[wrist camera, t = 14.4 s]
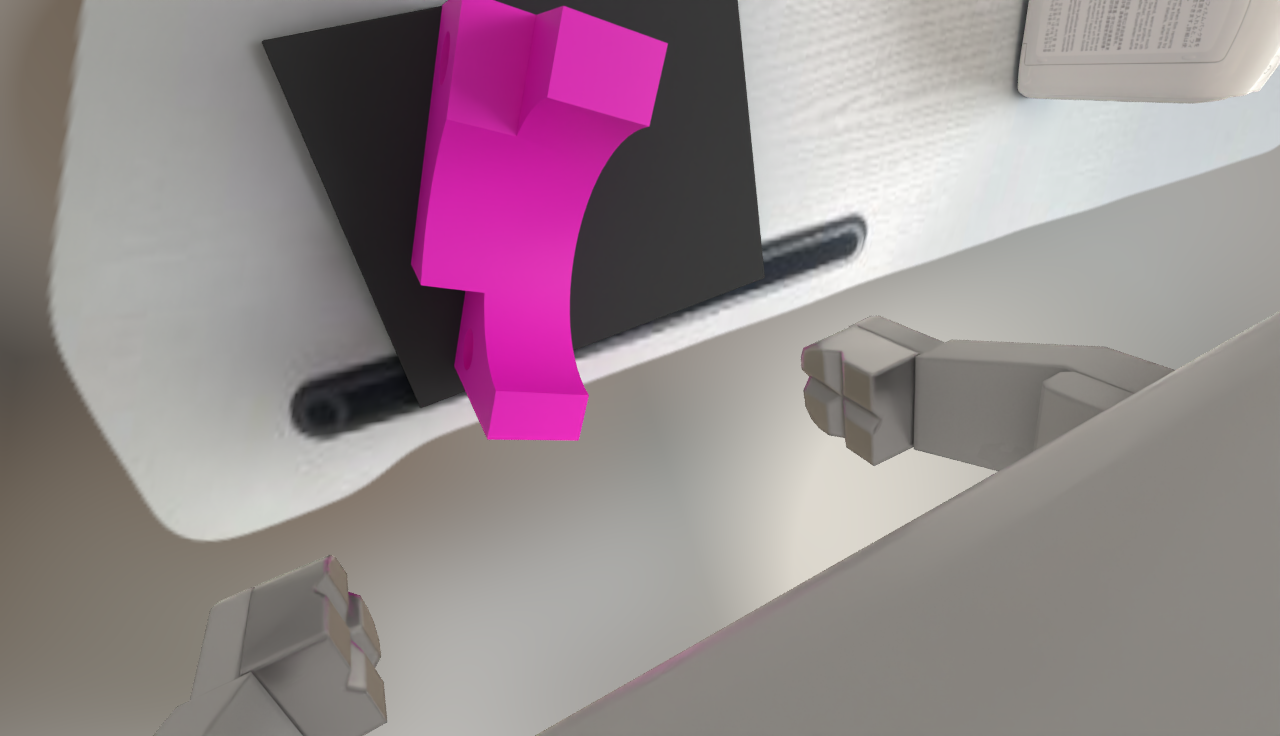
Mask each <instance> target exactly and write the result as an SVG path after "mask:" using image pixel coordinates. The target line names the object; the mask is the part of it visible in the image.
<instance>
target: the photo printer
mask: <svg viewBox="0 0 1280 736" xmlns="http://www.w3.org/2000/svg"><path fill="white" fill-rule="evenodd" d="M1279 64H1280V0H1029V5H1028V11H1027V18H1026V24H1025V31H1024V38H1023V44H1022V49H1021V57H1020V65H1019V74H1018V91H1019V92H1020V93H1021V94H1022V95H1024V96H1025V97H1027V98H1035V99H1063V100H1095V101H1122V102H1156V103H1203V102H1211V101H1219V100H1224V99H1226V98H1229V97H1236V96H1244V95H1247V94H1248V93H1250V92H1258V91H1259V90H1260V89H1261V88H1262V87H1263V85H1264V84H1265V83H1266V81H1267V80H1268V79H1269V78H1270V76H1271V75H1272V74H1273V72H1274V71H1275V70H1276V68H1277V67H1278V65H1279Z"/></svg>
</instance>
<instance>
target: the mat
mask: <svg viewBox="0 0 1280 736" xmlns="http://www.w3.org/2000/svg"><path fill="white" fill-rule="evenodd" d="M494 1H497V2H500V3H503V4H506V5H509V6H512V7H515V8H518V9H520V10H523V11H526V12H529V13H532V14H535V15H538V14H541V13H544V12H546V11H549V10H552V9H555V8H558V7H561V6H566V7H568V8H571V9H574V10H577V11H579V12H582V13H585V14H588V15H590V16H593V17H596V18H599V19H602V20H604V21H607V22H610V23H613V24H615V25H618V26H621V27H624V28H626V29H629V30H632V31H635V32H638V33H640V34H643V35H646V36H649V37H651V38H654V39H657V40H660V41H662V42H665V43H668V46H667V50H666V54H665V59H664V63H663V68H662V72H661V77H660V81H659V86H658V90H657V94H656V99H655V103H654V108H653V112H652V117H651V121H650V126H649V127H645V128H642V129H640V130H638V131H636V132H634V133H633V134H631V135H630V136H628V137H627V138H626V139H625V140H624V141H623V142H622V143H621V144H620V145H619V146H618V147H617V149H616V150H615V151H614V152H613V154H612V155H611V156H610V158H609V159H608V161H607V163H606V164H605V166H604V168H603V169H602V171H601V173H600V175H599V177H598V179H597V181H596V183H595V185H594V188H593V190H592V192H591V195H590V198H589V200H588V203H587V206H586V209H585V212H584V215H583V219H582V222H581V226H580V230H579V234H578V238H577V243H576V248H575V253H574V260H573V267H572V275H571V286H570V329H571V339H572V346H573V350H575V349H578V348H581V347H583V346H586V345H589V344H591V343H594V342H597V341H599V340H602V339H605V338H607V337H610V336H612V335H615V334H618V333H620V332H623V331H626V330H628V329H631V328H634V327H636V326H639V325H642V324H644V323H647V322H649V321H652V320H655V319H657V318H660V317H663V316H665V315H668V314H671V313H673V312H676V311H679V310H681V309H684V308H686V307H689V306H692V305H694V304H697V303H700V302H702V301H705V300H708V299H710V298H713V297H716V296H718V295H721V294H723V293H726V292H729V291H731V290H734V289H737V288H739V287H742V286H745V285H747V284H750V283H753V282H755V281H758V280H760V279H763V278H765V276H764V266H763V256H762V245H761V235H760V225H759V215H758V205H757V194H756V184H755V174H754V164H753V153H752V143H751V133H750V123H749V113H748V102H747V92H746V82H745V72H744V61H743V51H742V41H741V31H740V21H739V10H738V0H494ZM441 13H442V6H439V7H434V8H429V9H424V10H419V11H414V12H408V13H403V14H398V15H393V16H388V17H382V18H377V19H372V20H367V21H362V22H357V23H351V24H346V25H341V26H336V27H331V28H325V29H320V30H315V31H310V32H305V33H300V34H294V35H289V36H284V37H279V38H274V39H268V40H263V41H262V44H263V46H264V49H265V51H266V53H267V55H268V58H269V60H270V62H271V65H272V67H273V69H274V72H275V74H276V76H277V79H278V81H279V83H280V85H281V88H282V90H283V92H284V95H285V97H286V99H287V102H288V104H289V106H290V109H291V111H292V113H293V115H294V118H295V120H296V122H297V125H298V127H299V129H300V132H301V134H302V136H303V139H304V141H305V143H306V145H307V148H308V150H309V152H310V155H311V157H312V159H313V162H314V164H315V166H316V169H317V171H318V173H319V175H320V178H321V180H322V182H323V185H324V187H325V189H326V192H327V194H328V196H329V199H330V201H331V203H332V205H333V208H334V210H335V212H336V215H337V217H338V219H339V222H340V224H341V226H342V228H343V231H344V233H345V235H346V238H347V240H348V242H349V245H350V247H351V249H352V252H353V254H354V256H355V258H356V261H357V263H358V265H359V268H360V270H361V272H362V275H363V277H364V279H365V282H366V284H367V286H368V288H369V291H370V293H371V295H372V298H373V300H374V302H375V305H376V307H377V309H378V312H379V314H380V316H381V318H382V321H383V323H384V325H385V328H386V330H387V332H388V335H389V337H390V339H391V342H392V344H393V346H394V348H395V351H396V353H397V355H398V358H399V360H400V362H401V365H402V367H403V369H404V372H405V374H406V376H407V378H408V381H409V383H410V385H411V388H412V390H413V392H414V395H415V397H416V399H417V402H418V404H419V406H420V408H422V407H425V406H428V405H430V404H433V403H435V402H438V401H441V400H443V399H446V398H449V397H451V396H454V395H457V394H459V393H462V392H465V389H464V387H463V384H462V382H461V380H460V378H459V376H458V373H457V371H456V369H455V367H454V364H455V358H456V351H457V344H458V338H459V331H460V324H461V318H462V311H463V305H464V298H465V291H464V290H456V289H448V288H439V287H431V286H423V285H421V284H420V282H419V280H418V278H417V276H416V274H415V272H414V269H413V267H412V265H411V259H412V251H413V243H414V235H415V227H416V218H417V210H418V202H419V194H420V185H421V177H422V169H423V161H424V152H425V144H426V136H427V128H428V120H429V111H430V103H431V95H432V87H433V78H434V70H435V62H436V54H437V45H438V37H439V29H440V21H441Z"/></svg>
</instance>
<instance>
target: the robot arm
mask: <svg viewBox="0 0 1280 736" xmlns="http://www.w3.org/2000/svg"><path fill="white" fill-rule="evenodd" d="M801 366H802V370H803V371H804V372H805V373H806V374H807V375H808V376H809V379H808V381H807V384H806V386H805V388H804V398H805V406H806V408H807V410H808V412H809V415H810V417H811V419H812V420H813V421H814V423H815V424H816V425H817V426H818V427H819V428H820V429H821V430H823V431H824V432H825V433H827V434H828V435H831V436H837V437H843V438H845V442H846V447H847V448H848V449H850V450H851V451H853V452H854V453H856V454H857V455H859V456H860V457H861V458H863V459H864V460H866V461H867V462H869V463H870V464H872V465H873V466H875V465H877V464H880V463H881V462H884V461H886V460H888V459H890V458H892V457H894V456H896V455H898V454H900V453H902V452H904V451H906V450H908V449H910V448H912V447H914V449H915V450H918V451H923V452H926V453H930V454H934V455H938V456H942V457H946V458H950V459H953V460H957V461H961V462H965V463H969V464H973V465H977V466H980V467H985V468H988V469H992V470H996V471H998V472H997V473H995V474H993V475H991V476H990V477H988V478H986V479H984V480H983V481H981V482H979V483H977V484H976V485H974V486H972V487H971V488H969V489H967V490H965V491H963V492H962V493H960V494H958V495H956V496H955V497H953V498H951V499H949V500H948V501H946V502H944V503H942V504H941V505H939V506H937V507H935V508H934V509H932V510H930V511H928V512H926V513H925V514H923V515H921V516H920V517H918V518H916V519H914V520H912V521H911V522H909V523H907V524H905V525H904V526H902V527H900V528H898V529H897V530H895V531H893V532H891V533H889V534H888V535H886V536H884V537H882V538H881V539H879V540H877V541H875V542H874V543H872V544H870V545H868V546H867V547H865V548H863V549H861V550H859V551H858V552H856V553H854V554H852V555H851V556H849V557H847V558H845V559H844V560H842V561H840V562H838V563H837V564H835V565H833V566H831V567H829V568H828V569H826V570H824V571H822V572H821V573H819V574H817V575H816V576H814V577H812V578H811V579H808V580H807V581H805V582H803V583H802V584H800V585H798V586H796V587H794V588H793V589H791V590H789V591H787V592H786V593H784V594H782V595H780V596H779V597H777V598H775V599H773V600H772V601H770V602H768V603H767V604H765V605H763V606H761V607H760V608H758V609H756V610H754V611H752V612H751V613H749V614H747V615H745V616H744V617H742V618H740V619H738V620H737V621H735V622H733V623H731V624H730V625H728V626H727V627H724V628H723V629H721V630H719V631H717V632H716V633H714V634H713V635H711V636H709V637H707V638H705V639H704V640H702V641H700V642H698V643H697V644H695V645H693V646H692V647H690V648H688V649H686V650H684V651H682V652H681V653H679V654H677V655H676V656H674V657H672V658H670V659H669V660H667V661H665V662H663V663H662V664H660V665H658V666H656V667H655V668H653V669H651V670H649V671H647V672H646V673H644V674H642V675H641V676H639V677H637V678H635V679H633V680H632V681H630V682H628V683H627V684H625V685H623V686H621V687H619V688H618V689H616V690H614V691H612V692H611V693H609V694H607V695H605V696H604V697H602V698H600V699H598V700H597V701H595V702H593V703H591V704H590V705H588V706H586V707H584V708H583V709H581V710H579V711H577V712H576V713H574V714H572V715H570V716H569V717H567V718H565V719H564V720H562V721H560V722H558V723H556V724H555V725H553V726H551V727H549V728H548V729H546V730H544V731H543V732H541V733H539V734H537V735H535V736H1280V311H1278V312H1277V313H1275V314H1273V315H1271V316H1270V317H1268V318H1266V319H1264V320H1263V321H1261V322H1259V323H1257V324H1256V325H1254V326H1252V327H1251V328H1249V329H1247V330H1245V331H1243V332H1242V333H1240V334H1238V335H1236V336H1235V337H1233V338H1231V339H1229V340H1228V341H1226V342H1224V343H1222V344H1221V345H1219V346H1217V347H1215V348H1214V349H1212V350H1210V351H1208V352H1207V353H1205V354H1203V355H1202V356H1200V357H1198V358H1196V359H1194V360H1193V361H1191V362H1189V363H1187V364H1186V365H1184V366H1182V367H1180V368H1179V369H1177V370H1173V369H1170V368H1167V367H1164V366H1161V365H1158V364H1155V363H1152V362H1149V361H1146V360H1143V359H1140V358H1137V357H1134V356H1131V355H1128V354H1125V353H1122V352H1120V351H1117V350H1114V349H1110V348H1108V347H1100V346H1099V347H1098V346H1078V345H1077V346H1076V345H1056V344H1035V343H1034V344H1033V343H1014V342H992V341H990V342H989V341H969V340H950V341H948V342H945V343H944V342H942V341H940V340H937V339H935V338H932V337H930V336H927V335H925V334H923V333H920V332H918V331H915V330H913V329H910V328H908V327H906V326H903V325H901V324H898V323H895V322H893V321H891V320H888V319H886V318H883V317H881V316H870V317H867V318H865V319H863V320H861V321H859V322H857V323H855V324H853V325H851V326H849V327H848V328H846V329H844V330H842V331H839V332H837V333H835V334H833V335H831V336H829V337H827V338H824V339H822V340H820V341H818V342H815V343H813V344H811V345H809V346H807V347H804V348H803V351H802V355H801ZM380 658H381V652H380V643H379V638H378V635H377V631H376V628H375V624H374V621H373V619H372V617H371V614H370V612H369V610H368V608H367V606H366V605H365V603H364V601H363V599H362V598H361V596H360V595H357V594H354V593H350V592H348V583H347V573H346V572H345V570H344V569H343V567H342V566H341V564H340V563H339V561H338V560H337V558H335V557H333V556H332V555H328V556H326V557H324V558H321V559H319V560H316V561H314V562H312V563H309V564H307V565H304V566H302V567H300V568H297V569H295V570H292V571H290V572H288V573H285V574H283V575H281V576H278V577H276V578H273V579H271V580H269V581H266V582H264V583H261V584H259V585H257V586H256V587H251V588H249V589H247V590H245V591H242V592H240V593H238V594H236V595H233V596H231V597H229V598H226V599H224V600H222V601H220V602H218V603H216V604H215V606H213V607H212V608H211V610H210V613H209V617H208V622H207V626H206V630H205V635H204V639H203V644H202V648H201V653H200V657H199V662H198V666H197V670H196V675H195V679H194V683H193V688H192V693H191V697H190V701H188V702H186V703H183V704H181V705H179V706H177V707H176V708H175V709H174V711H173V712H172V713H171V714H170V716H169V717H168V718H167V719H166V720H165V722H164V723H163V724H162V726H161V727H160V728H159V729H158V730H157V731H156V733H155V734H154V735H153V736H363V735H365V734H367V733H369V732H370V731H372V730H374V729H376V728H378V727H379V726H381V725H383V724H385V723H387V715H386V704H385V693H384V682H383V680H382V679H381V677H380V676H379V674H378V673H377V671H376V670H375V667H376V665H377V663H378V662H379V660H380Z"/></svg>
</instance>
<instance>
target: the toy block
mask: <svg viewBox="0 0 1280 736" xmlns="http://www.w3.org/2000/svg"><path fill="white" fill-rule="evenodd" d="M667 46H668V43H665V42H662V41H660V40H657V39H654V38H651V37H649V36H646V35H643V34H640V33H638V32H635V31H632V30H629V29H626V28H624V27H621V26H618V25H615V24H613V23H610V22H607V21H604V20H602V19H599V18H596V17H593V16H590V15H588V14H585V13H582V12H579V11H577V10H574V9H571V8H568V7H566V6H561V7H558V8H555V9H552V10H549V11H546V12H544V13H541V14H538V15H535V14H532V13H529V12H526V11H523V10H520V9H518V8H515V7H512V6H509V5H506V4H503V3H500V2H497V1H494V0H448V1H447V2H445V3H444V4H443V5H442V13H441V21H440V29H439V37H438V45H437V54H436V62H435V70H434V78H433V87H432V95H431V103H430V111H429V120H428V128H427V136H426V144H425V152H424V161H423V169H422V177H421V185H420V194H419V202H418V210H417V218H416V227H415V235H414V243H413V251H412V259H411V265H412V267H413V269H414V272H415V274H416V276H417V278H418V280H419V282H420V284H421V285H423V286H431V287H439V288H448V289H456V290H464V291H465V298H464V305H463V311H462V318H461V324H460V331H459V338H458V344H457V351H456V358H455V364H454V367H455V369H456V371H457V373H458V376H459V378H460V380H461V382H462V384H463V387H464V389H465V391H466V393H467V395H468V398H469V400H470V402H471V404H472V406H473V409H474V411H475V413H476V415H477V417H478V420H479V422H480V424H481V426H482V428H483V431H484V433H485V435H486V437H487V439H495V440H500V439H501V440H502V439H504V440H579V437H580V432H581V427H582V423H583V419H584V414H585V410H586V405H587V401H588V397H589V395H588V393H587V391H586V389H585V388H584V385H583V383H582V381H581V378H580V375H579V372H578V369H577V366H576V362H575V357H574V352H573V346H572V339H571V329H570V286H571V275H572V267H573V260H574V253H575V248H576V243H577V238H578V234H579V230H580V226H581V222H582V219H583V215H584V212H585V209H586V206H587V203H588V200H589V198H590V195H591V192H592V190H593V188H594V185H595V183H596V181H597V179H598V177H599V175H600V173H601V171H602V169H603V168H604V166H605V164H606V163H607V161H608V159H609V158H610V156H611V155H612V154H613V152H614V151H615V150H616V149H617V147H618V146H619V145H620V144H621V143H622V142H623V141H624V140H625V139H626V138H627V137H628V136H630V135H631V134H633V133H634V132H636V131H638V130H640V129H642V128H645V127H649V126H650V121H651V117H652V112H653V108H654V103H655V99H656V94H657V90H658V86H659V81H660V77H661V72H662V68H663V63H664V59H665V54H666V50H667Z"/></svg>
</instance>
